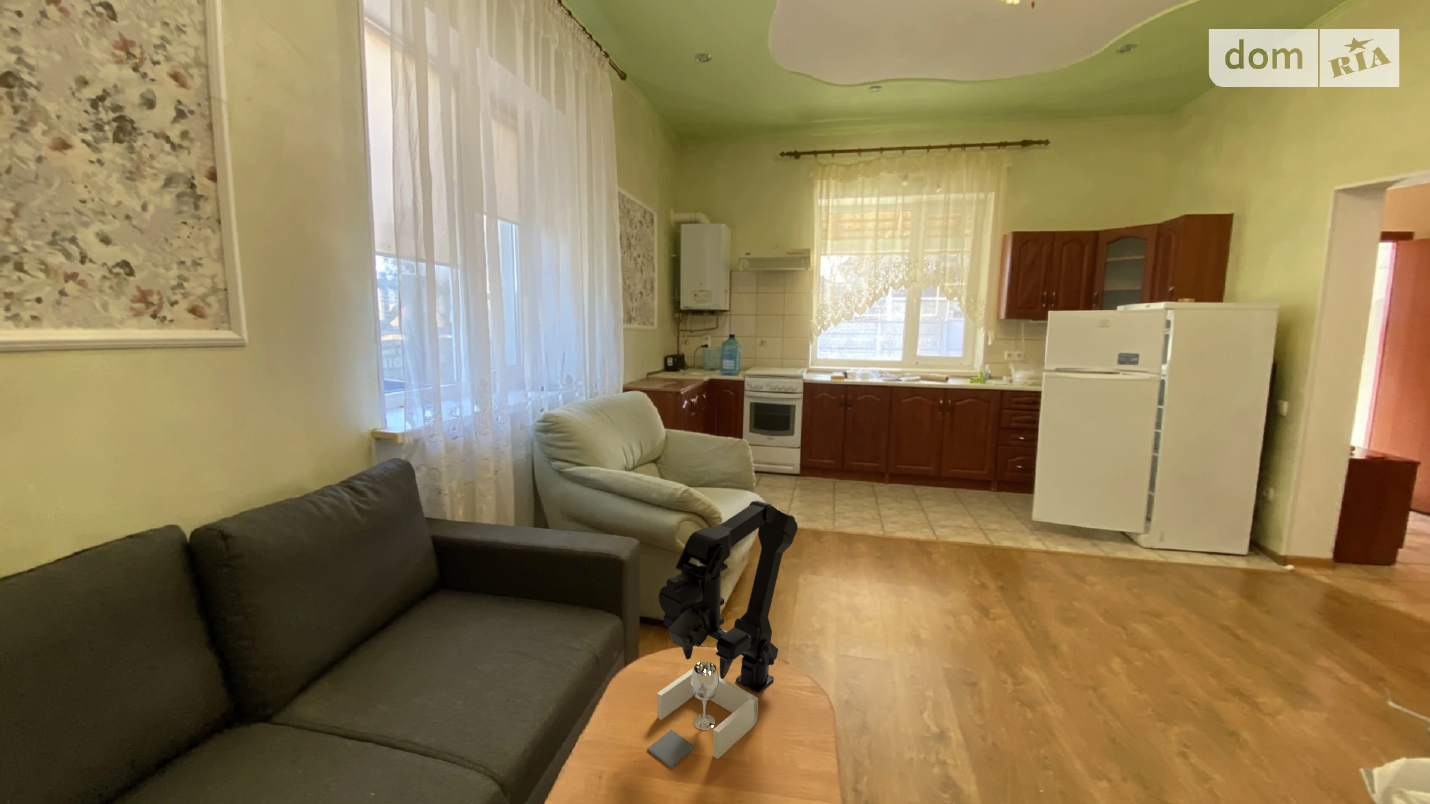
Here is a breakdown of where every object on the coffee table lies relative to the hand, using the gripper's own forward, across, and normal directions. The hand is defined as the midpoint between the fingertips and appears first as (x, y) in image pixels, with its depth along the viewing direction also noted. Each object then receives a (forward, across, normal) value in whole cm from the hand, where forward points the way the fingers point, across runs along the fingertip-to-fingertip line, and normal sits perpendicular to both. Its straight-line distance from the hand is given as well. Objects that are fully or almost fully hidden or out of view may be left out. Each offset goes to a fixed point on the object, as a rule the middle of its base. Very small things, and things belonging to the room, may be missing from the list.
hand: (705, 668), depth 109 cm
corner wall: (+12, 0, +1) cm, 12 cm away
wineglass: (+12, 0, 0) cm, 12 cm away
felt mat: (+12, 0, -10) cm, 15 cm away
